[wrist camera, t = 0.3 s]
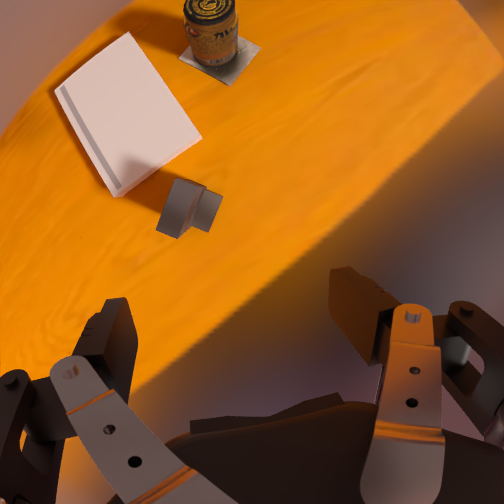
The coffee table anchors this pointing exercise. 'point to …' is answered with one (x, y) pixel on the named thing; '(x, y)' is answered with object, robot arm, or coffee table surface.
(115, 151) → the board
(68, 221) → the coffee table surface
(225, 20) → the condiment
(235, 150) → the coffee table surface
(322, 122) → the coffee table surface
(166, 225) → the dark block with lip
